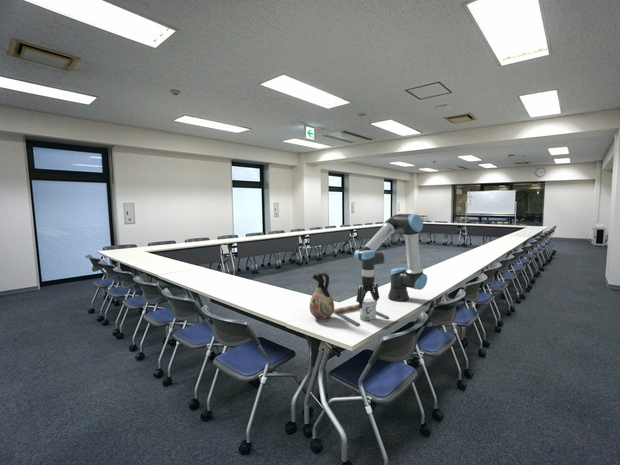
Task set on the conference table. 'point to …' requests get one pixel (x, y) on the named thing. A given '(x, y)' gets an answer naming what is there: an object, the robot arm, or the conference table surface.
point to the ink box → (369, 310)
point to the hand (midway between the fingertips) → (367, 311)
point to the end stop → (347, 309)
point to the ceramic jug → (321, 299)
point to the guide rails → (357, 322)
